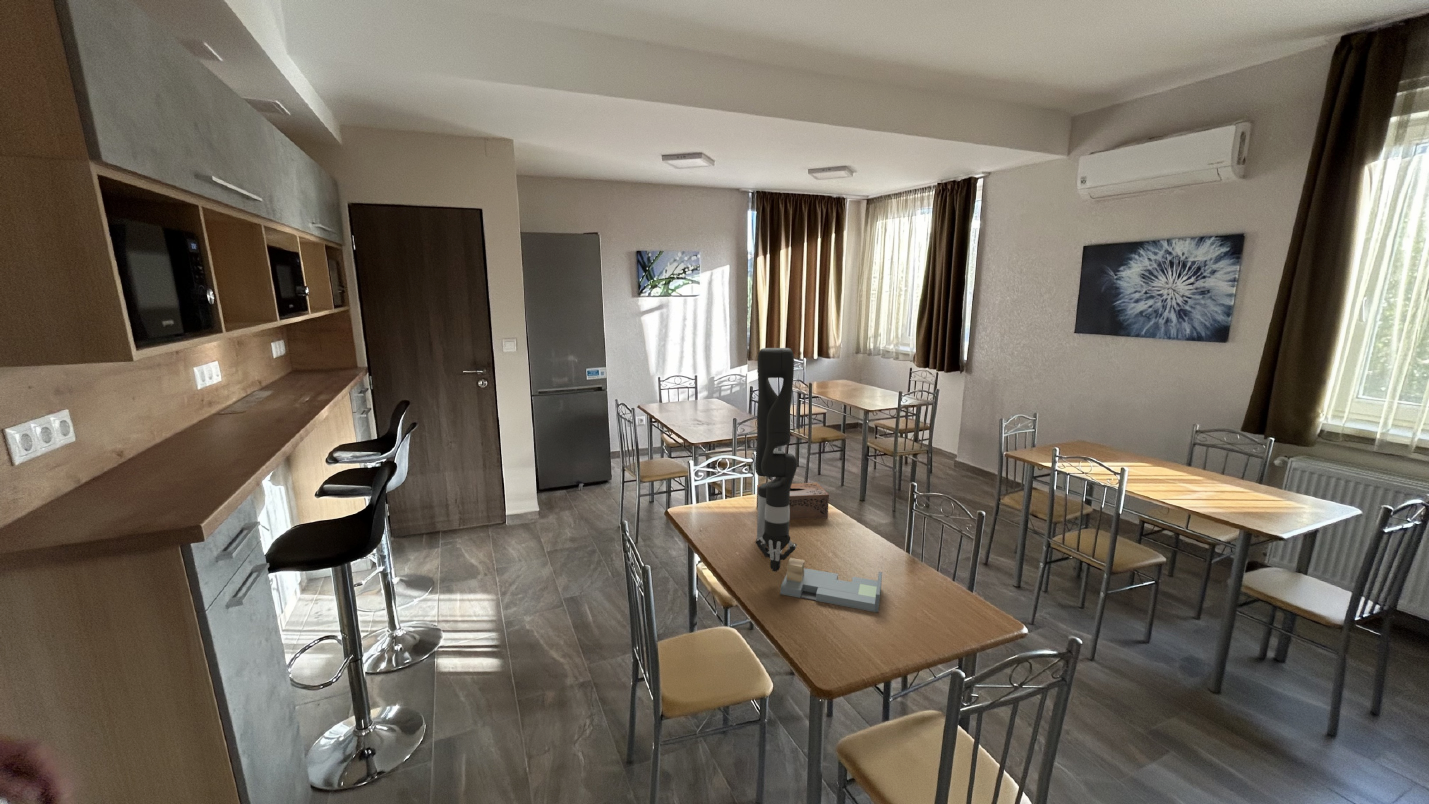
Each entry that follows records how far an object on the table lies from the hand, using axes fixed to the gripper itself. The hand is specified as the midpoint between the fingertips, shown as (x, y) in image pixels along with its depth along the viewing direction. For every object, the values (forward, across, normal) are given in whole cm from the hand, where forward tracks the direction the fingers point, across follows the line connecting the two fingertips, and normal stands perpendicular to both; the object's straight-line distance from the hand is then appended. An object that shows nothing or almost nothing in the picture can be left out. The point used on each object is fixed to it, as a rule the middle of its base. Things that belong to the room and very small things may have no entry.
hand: (775, 570), depth 174 cm
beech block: (+1, -6, 0) cm, 6 cm away
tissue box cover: (+4, +7, -58) cm, 58 cm away
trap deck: (+4, -17, 0) cm, 18 cm away
